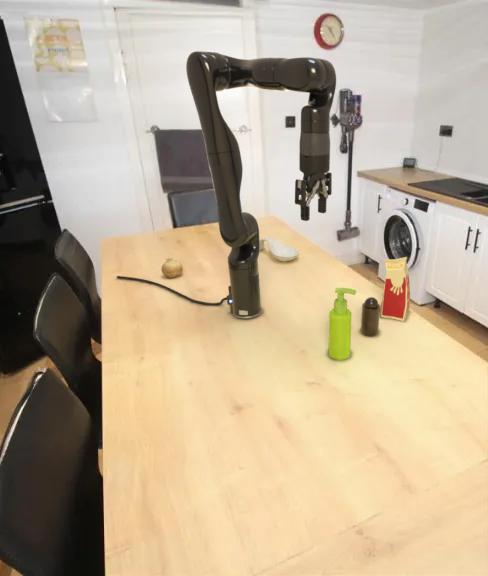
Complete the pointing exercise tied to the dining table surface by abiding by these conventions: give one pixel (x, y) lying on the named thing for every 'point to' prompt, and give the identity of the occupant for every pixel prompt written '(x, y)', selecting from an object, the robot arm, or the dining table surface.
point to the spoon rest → (279, 249)
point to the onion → (171, 268)
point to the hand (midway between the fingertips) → (313, 216)
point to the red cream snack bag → (396, 290)
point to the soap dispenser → (340, 326)
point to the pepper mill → (370, 317)
